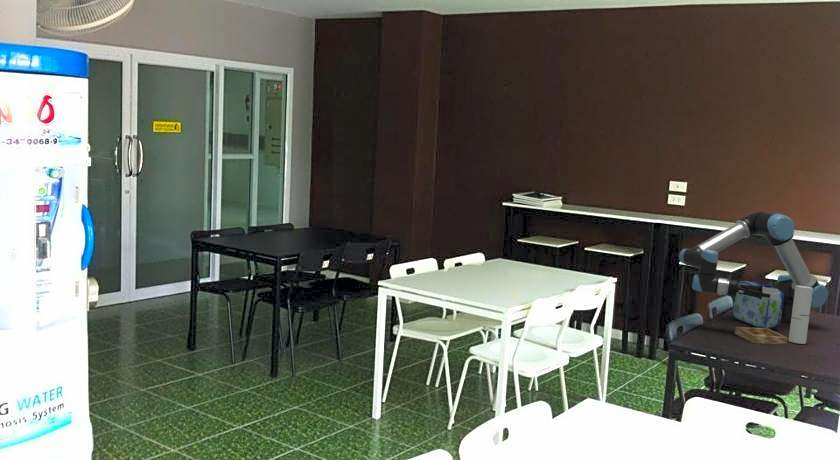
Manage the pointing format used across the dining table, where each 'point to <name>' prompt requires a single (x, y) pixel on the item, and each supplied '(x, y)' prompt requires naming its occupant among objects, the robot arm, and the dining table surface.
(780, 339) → the oak tray
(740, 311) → the lunch box
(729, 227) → the robot arm
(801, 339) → the tall white box
